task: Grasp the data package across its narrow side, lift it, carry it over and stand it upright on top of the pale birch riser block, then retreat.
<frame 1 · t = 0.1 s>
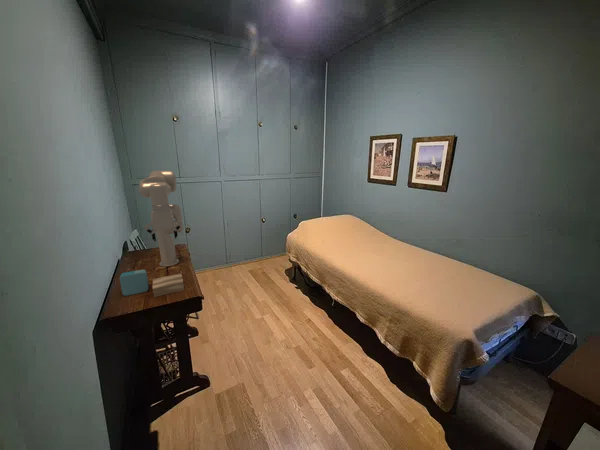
hand: (165, 239, 127), 31 cm above the table, fingers open, 9 cm apart
birch riser block: (169, 288, 138), on the table
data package: (136, 292, 134), on the table
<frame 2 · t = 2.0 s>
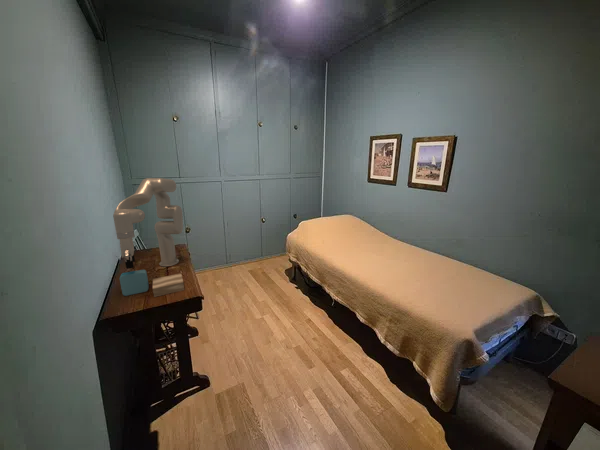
hand: (130, 264, 129), 17 cm above the table, fingers open, 9 cm apart
nothing on the table moved.
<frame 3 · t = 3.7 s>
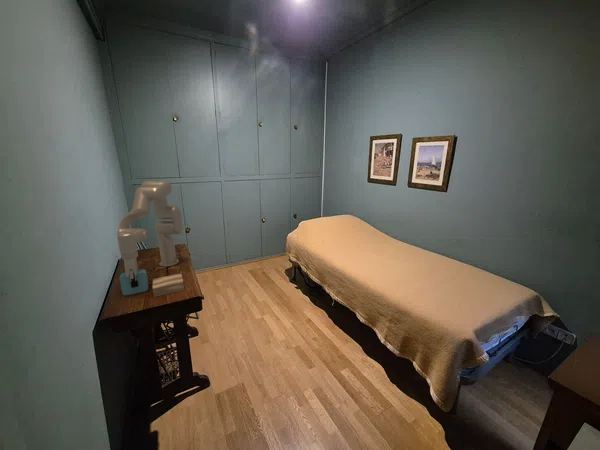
hand: (135, 284, 133), 4 cm above the table, fingers closed on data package, 4 cm apart
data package: (136, 292, 134), on the table, touching gripper
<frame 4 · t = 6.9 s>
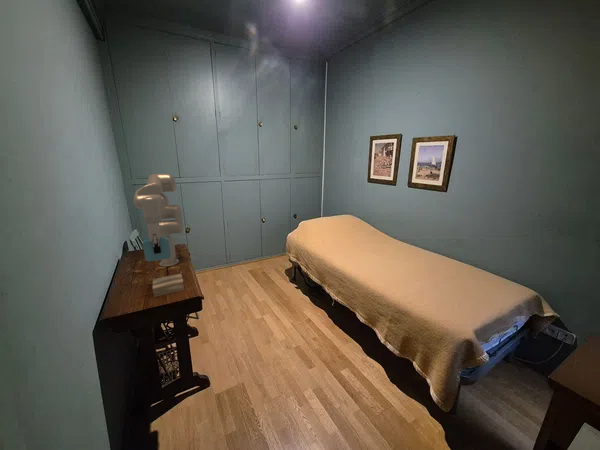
hand: (157, 251, 131), 23 cm above the table, fingers closed on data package, 4 cm apart
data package: (158, 259, 132), point 19 cm above the table, touching gripper
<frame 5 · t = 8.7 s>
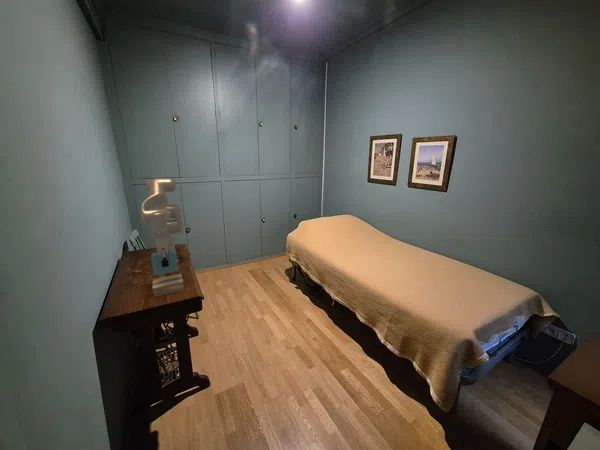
hand: (165, 264, 134), 15 cm above the table, fingers closed on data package, 4 cm apart
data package: (166, 272, 135), point 10 cm above the table, touching gripper
when the fingers open (11 cm above the table, at t = 10.3 s): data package drops 1 cm, resting on birch riser block.
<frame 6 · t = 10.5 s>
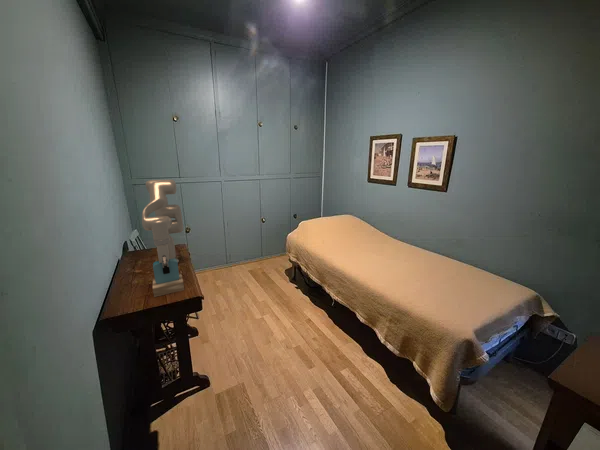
hand: (166, 270, 135), 11 cm above the table, fingers open, 6 cm apart
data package: (167, 280, 137), point 5 cm above the table, touching birch riser block
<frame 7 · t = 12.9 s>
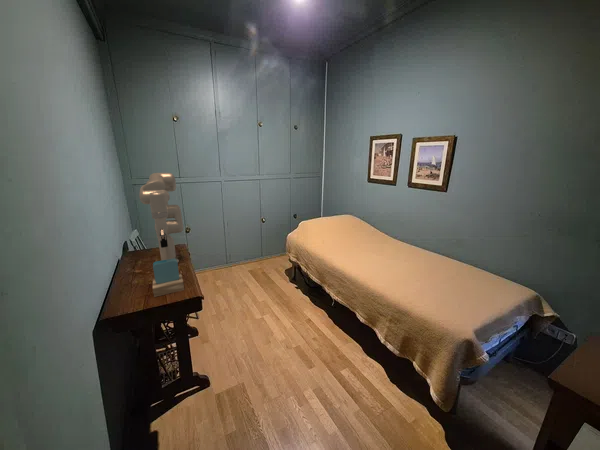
hand: (164, 244, 133), 26 cm above the table, fingers open, 9 cm apart
nothing on the table moved.
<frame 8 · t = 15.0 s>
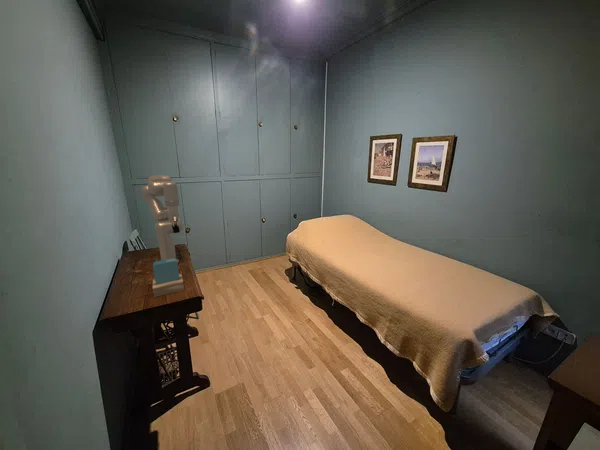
hand: (175, 230, 146), 30 cm above the table, fingers open, 9 cm apart
nothing on the table moved.
at the end: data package inside the target area on the birch riser block (0.3 cm from its centre), point 4.8 cm above the birch riser block's base; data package tilted 0°; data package touching birch riser block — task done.
